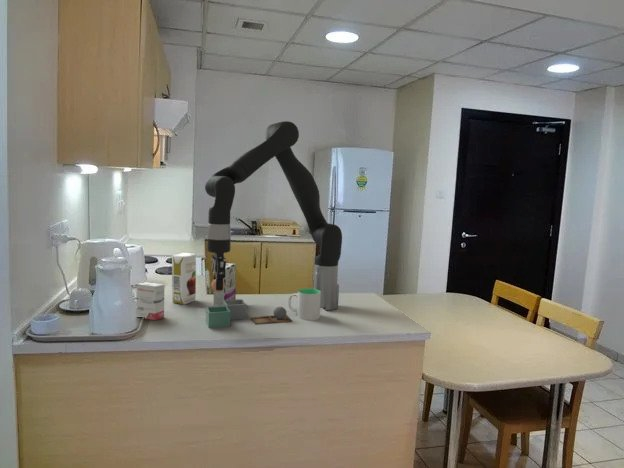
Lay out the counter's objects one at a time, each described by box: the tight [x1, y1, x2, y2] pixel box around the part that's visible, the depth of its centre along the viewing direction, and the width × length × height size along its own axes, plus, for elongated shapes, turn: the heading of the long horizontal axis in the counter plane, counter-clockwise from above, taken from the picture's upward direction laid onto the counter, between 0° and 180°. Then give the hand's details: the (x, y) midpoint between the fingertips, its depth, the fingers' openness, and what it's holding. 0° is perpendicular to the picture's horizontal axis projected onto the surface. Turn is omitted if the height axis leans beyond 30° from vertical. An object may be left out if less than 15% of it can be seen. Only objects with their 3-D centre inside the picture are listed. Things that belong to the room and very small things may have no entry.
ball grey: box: [272, 306, 287, 320], centre depth 167 cm, size 4×4×4 cm
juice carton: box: [171, 252, 197, 305], centre depth 187 cm, size 8×9×19 cm
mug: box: [287, 288, 321, 321], centre depth 172 cm, size 12×8×10 cm
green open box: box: [205, 306, 231, 329], centre depth 159 cm, size 7×7×6 cm
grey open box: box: [223, 298, 247, 320], centre depth 169 cm, size 7×7×6 cm
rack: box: [250, 314, 293, 326], centre depth 166 cm, size 13×7×2 cm, turn 110°
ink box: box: [135, 281, 166, 321], centre depth 167 cm, size 9×5×12 cm, turn 71°
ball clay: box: [210, 279, 225, 292], centre depth 158 cm, size 4×4×4 cm
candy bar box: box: [213, 262, 237, 307], centre depth 181 cm, size 11×5×16 cm, turn 168°
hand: (218, 288), depth 158 cm, fingers closed on ball clay, 4 cm apart
